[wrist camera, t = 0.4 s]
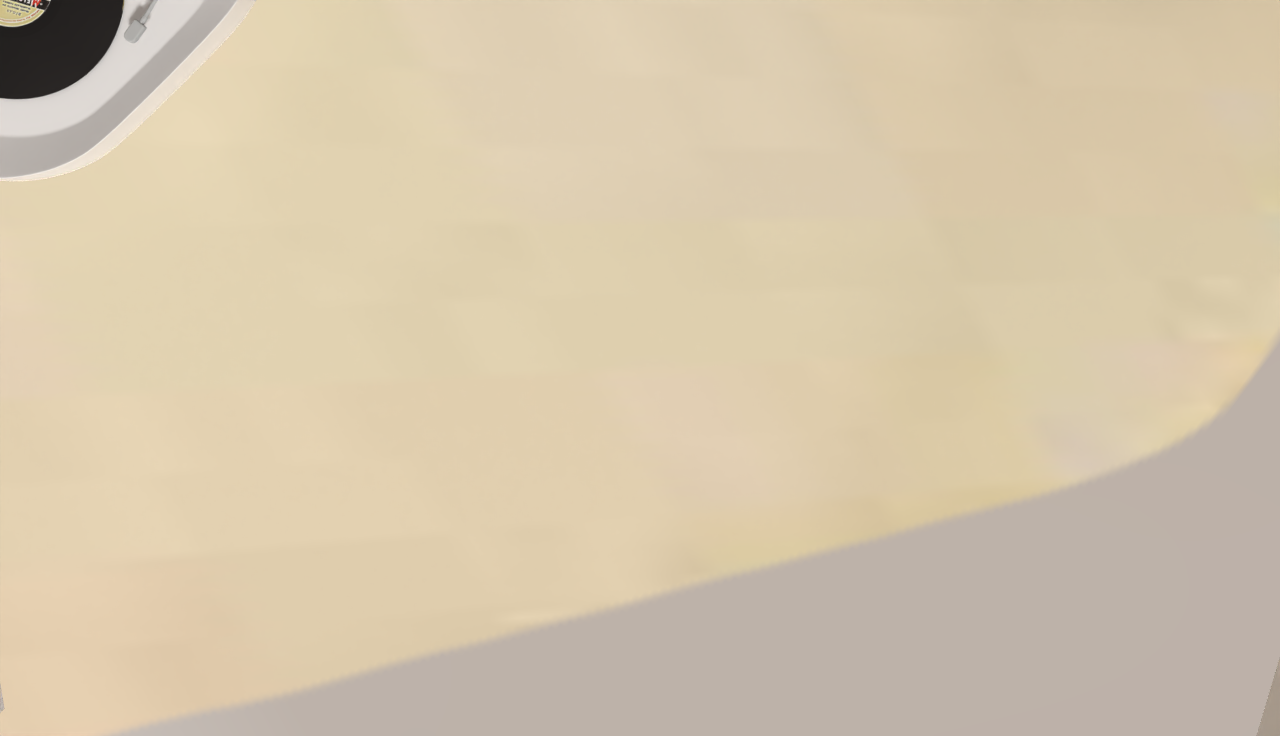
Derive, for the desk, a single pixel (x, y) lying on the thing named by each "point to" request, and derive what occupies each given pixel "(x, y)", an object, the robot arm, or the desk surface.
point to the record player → (95, 73)
